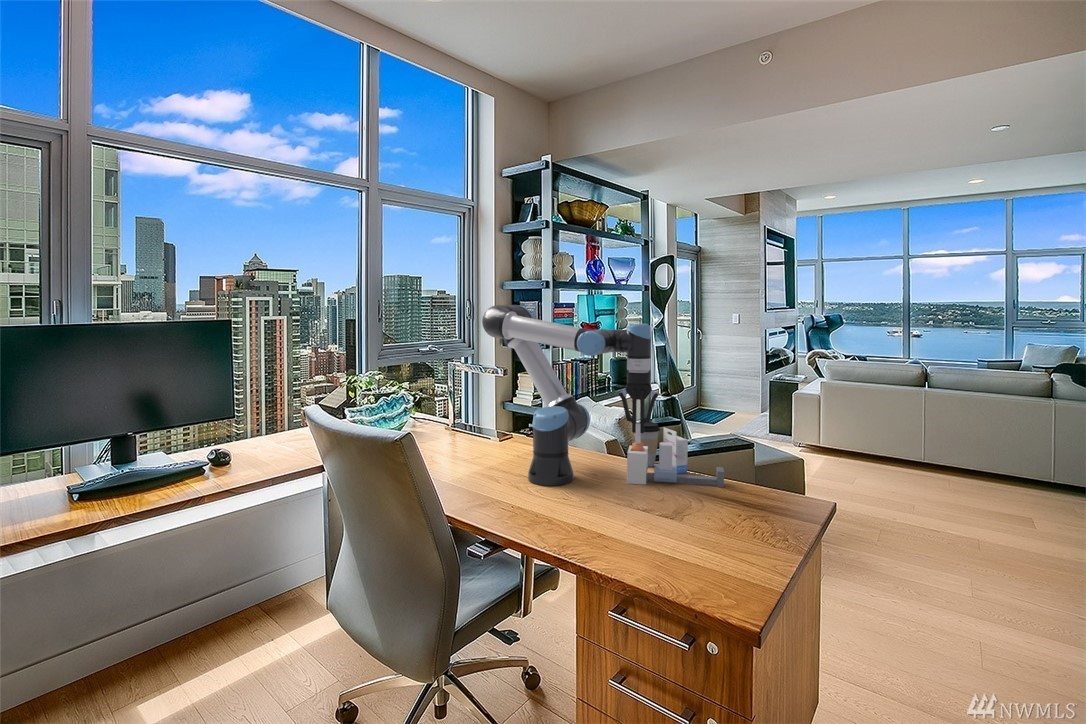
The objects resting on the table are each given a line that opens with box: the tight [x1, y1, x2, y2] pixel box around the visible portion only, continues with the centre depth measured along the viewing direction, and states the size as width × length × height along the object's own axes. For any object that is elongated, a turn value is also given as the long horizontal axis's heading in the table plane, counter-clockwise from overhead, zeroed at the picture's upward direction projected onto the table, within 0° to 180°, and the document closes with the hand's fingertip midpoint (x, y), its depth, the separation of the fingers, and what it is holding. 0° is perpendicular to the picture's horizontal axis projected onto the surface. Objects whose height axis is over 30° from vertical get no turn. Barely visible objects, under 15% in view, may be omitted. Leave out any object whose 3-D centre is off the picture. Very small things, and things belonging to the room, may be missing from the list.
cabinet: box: [626, 444, 649, 485], centre depth 178 cm, size 6×10×10 cm, turn 166°
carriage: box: [653, 441, 678, 483], centre depth 176 cm, size 7×9×12 cm
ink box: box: [662, 426, 689, 475], centre depth 188 cm, size 8×5×15 cm, turn 20°
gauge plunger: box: [631, 441, 643, 452], centre depth 178 cm, size 4×4×4 cm
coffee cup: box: [634, 421, 661, 468], centre depth 195 cm, size 9×9×15 cm
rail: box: [646, 466, 725, 488], centre depth 175 cm, size 24×5×5 cm, turn 76°
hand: (638, 442), depth 177 cm, fingers closed
